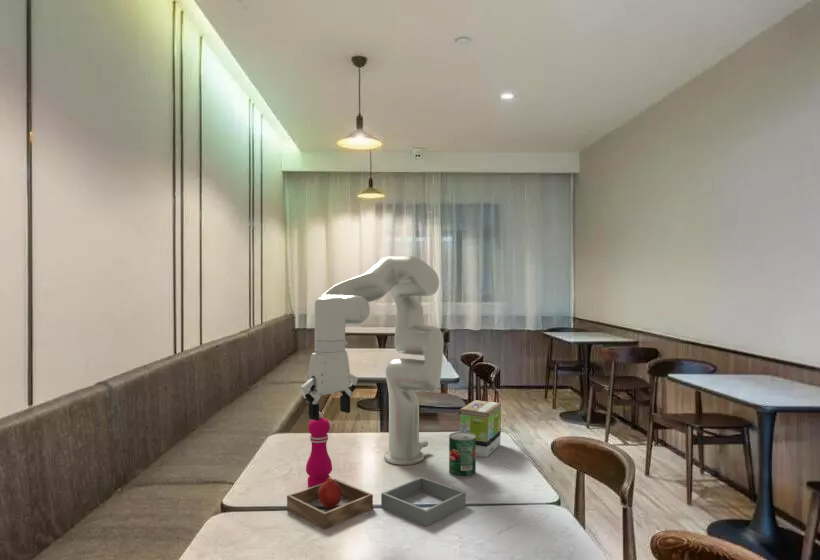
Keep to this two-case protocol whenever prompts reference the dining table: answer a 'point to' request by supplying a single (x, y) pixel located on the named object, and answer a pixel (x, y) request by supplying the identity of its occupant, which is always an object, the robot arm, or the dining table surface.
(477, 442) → the tea box
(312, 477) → the pepper mill
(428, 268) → the robot arm
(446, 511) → the grey bin
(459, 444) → the canned tomato
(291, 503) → the walnut bin
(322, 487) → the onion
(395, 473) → the dining table surface
